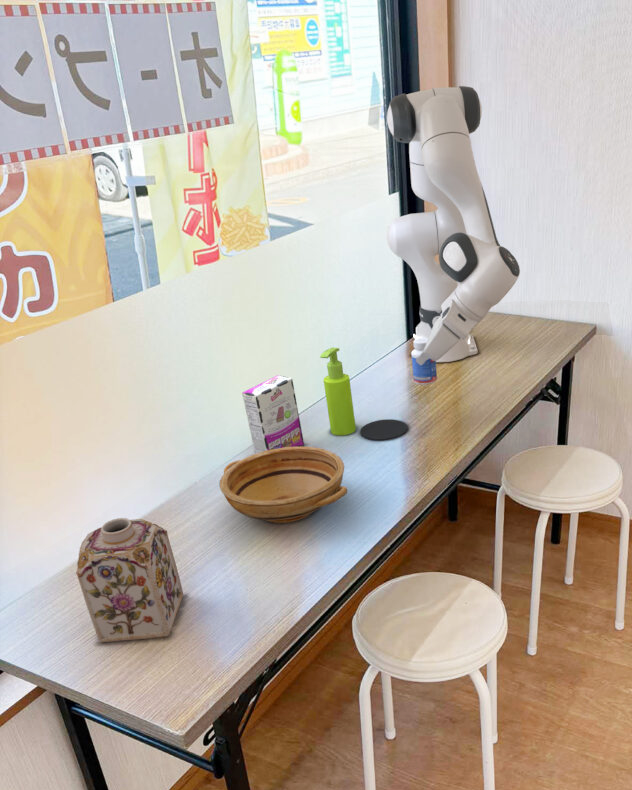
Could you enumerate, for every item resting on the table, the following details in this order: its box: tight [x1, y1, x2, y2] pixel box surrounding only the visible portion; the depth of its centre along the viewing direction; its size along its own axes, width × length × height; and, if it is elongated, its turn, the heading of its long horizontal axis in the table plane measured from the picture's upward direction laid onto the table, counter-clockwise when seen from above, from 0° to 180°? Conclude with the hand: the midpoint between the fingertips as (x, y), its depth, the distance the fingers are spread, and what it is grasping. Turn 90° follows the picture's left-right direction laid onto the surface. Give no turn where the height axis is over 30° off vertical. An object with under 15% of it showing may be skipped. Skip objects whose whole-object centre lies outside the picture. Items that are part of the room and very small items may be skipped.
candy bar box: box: [241, 375, 305, 454], centre depth 189 cm, size 11×5×16 cm, turn 143°
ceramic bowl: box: [219, 446, 348, 524], centre depth 167 cm, size 30×24×8 cm
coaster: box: [359, 419, 408, 442], centre depth 198 cm, size 11×11×1 cm
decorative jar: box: [75, 517, 184, 644], centre depth 136 cm, size 12×12×18 cm
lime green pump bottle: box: [319, 346, 357, 437], centre depth 195 cm, size 6×7×20 cm
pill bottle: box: [410, 338, 438, 386], centre depth 193 cm, size 6×5×10 cm
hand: (420, 357), depth 193 cm, fingers closed on pill bottle, 5 cm apart
